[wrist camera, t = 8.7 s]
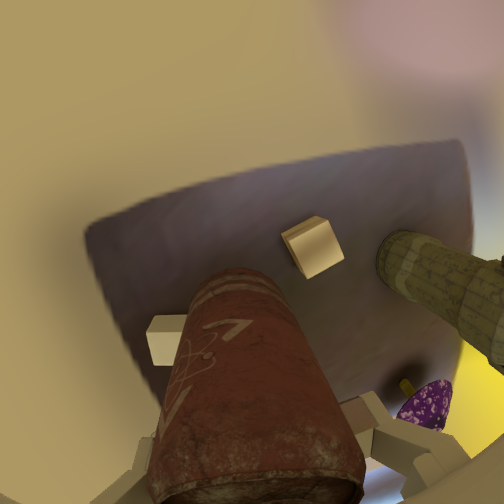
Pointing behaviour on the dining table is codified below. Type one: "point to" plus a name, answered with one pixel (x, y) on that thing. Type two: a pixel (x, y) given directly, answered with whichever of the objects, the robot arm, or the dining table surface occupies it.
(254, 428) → the can
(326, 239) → the maple block
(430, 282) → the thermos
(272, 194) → the dining table surface
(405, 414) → the decorative mushroom
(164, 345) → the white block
